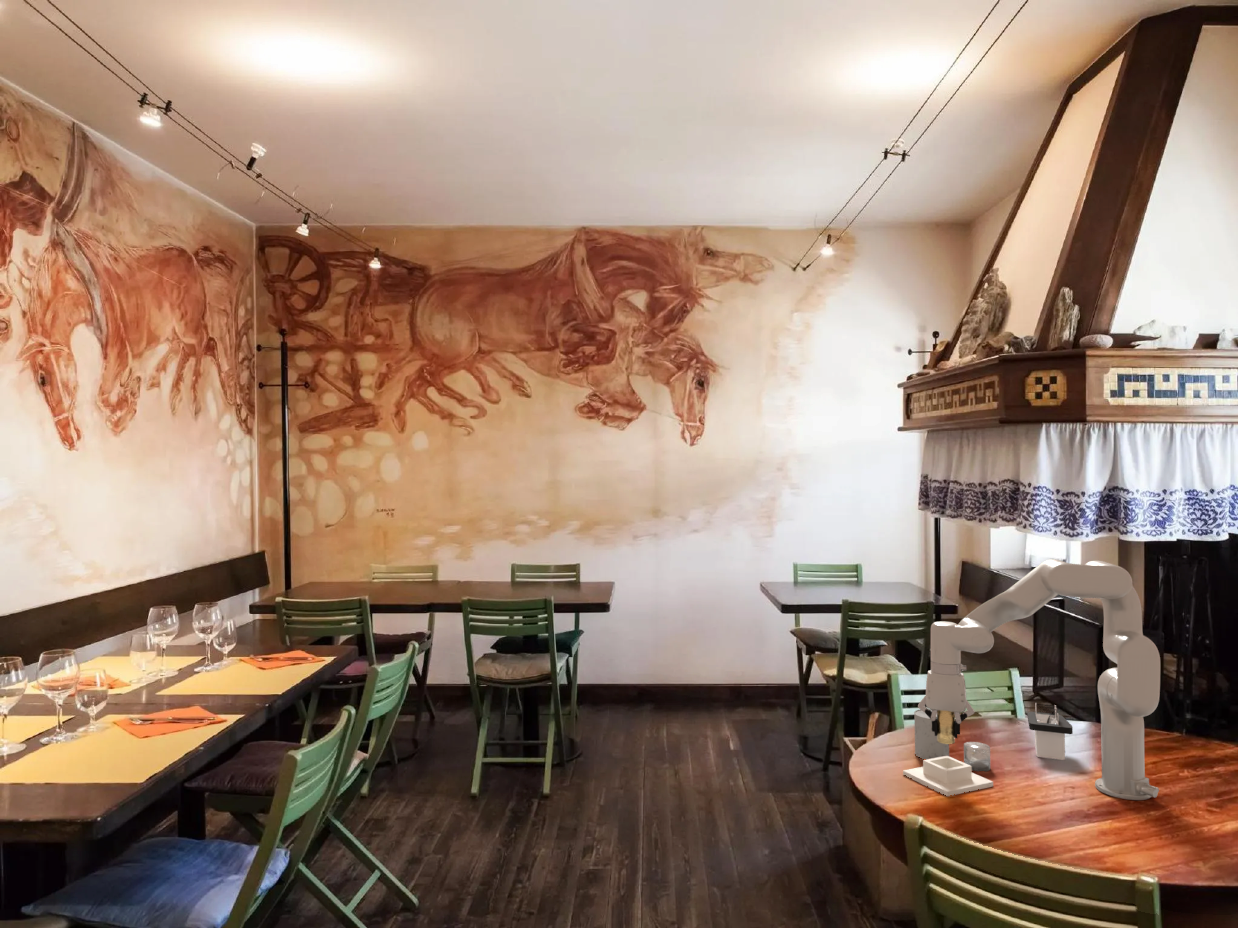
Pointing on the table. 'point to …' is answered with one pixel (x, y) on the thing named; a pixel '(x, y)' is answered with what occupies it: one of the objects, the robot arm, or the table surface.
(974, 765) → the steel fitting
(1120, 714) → the robot arm
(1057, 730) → the black-topped pedestal
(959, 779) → the flange socket
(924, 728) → the grey cylinder
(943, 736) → the cylinder
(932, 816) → the table surface
